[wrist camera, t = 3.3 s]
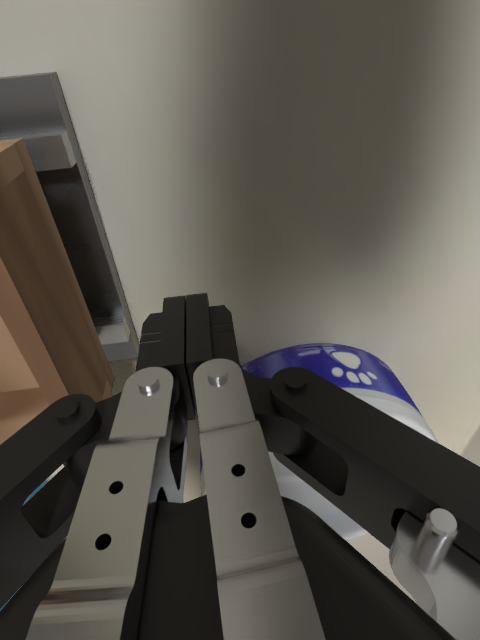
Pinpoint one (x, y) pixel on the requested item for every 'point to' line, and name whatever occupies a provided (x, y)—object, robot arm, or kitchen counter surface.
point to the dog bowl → (354, 377)
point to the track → (69, 201)
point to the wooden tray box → (39, 305)
